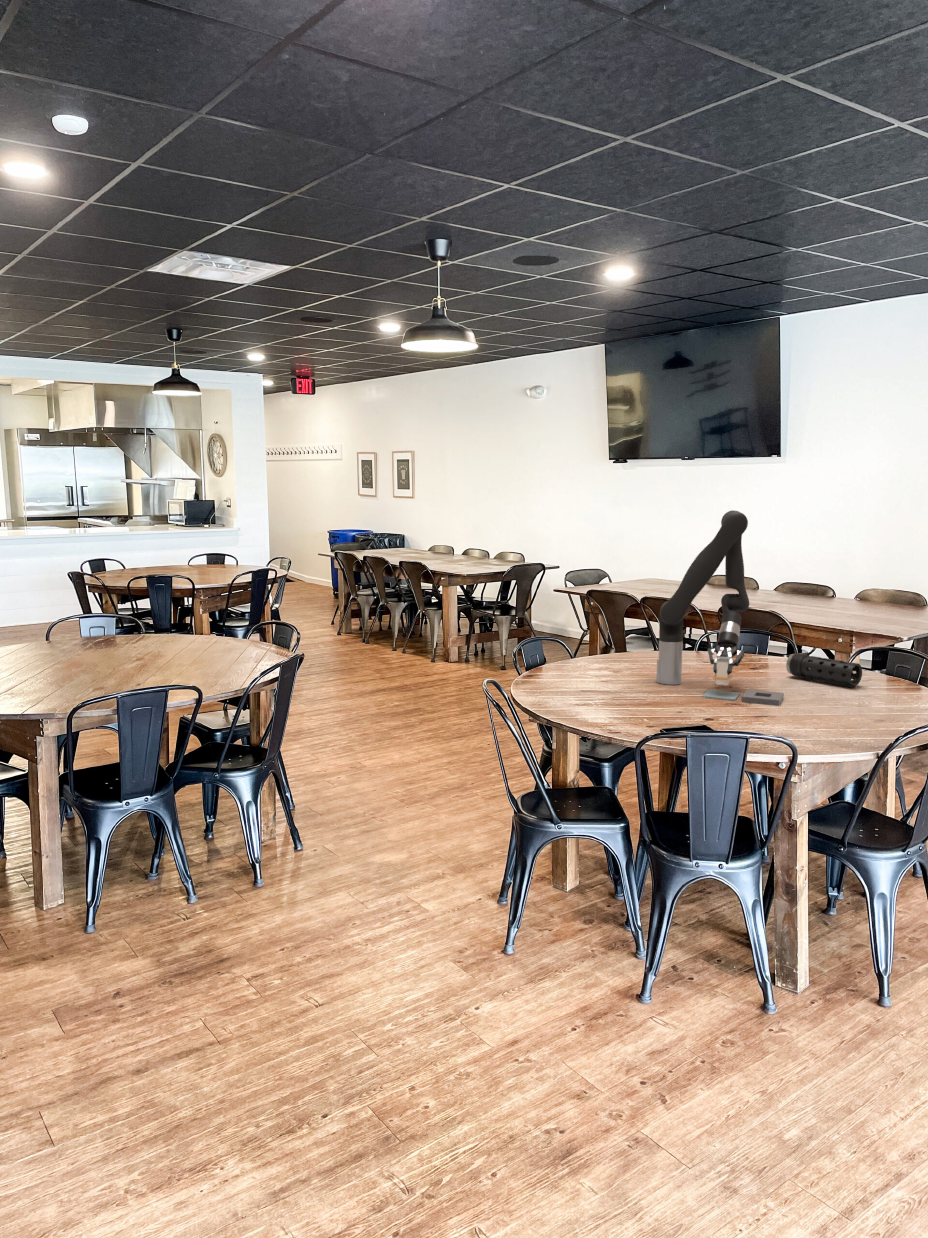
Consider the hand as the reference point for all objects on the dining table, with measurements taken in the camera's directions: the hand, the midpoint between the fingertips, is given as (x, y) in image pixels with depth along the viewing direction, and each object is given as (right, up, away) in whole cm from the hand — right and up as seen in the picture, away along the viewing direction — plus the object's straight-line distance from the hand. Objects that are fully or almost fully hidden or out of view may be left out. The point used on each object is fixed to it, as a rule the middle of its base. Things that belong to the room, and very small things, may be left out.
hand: (722, 673), depth 325 cm
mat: (+1, -9, +3) cm, 9 cm away
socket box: (+14, -10, -4) cm, 17 cm away
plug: (+1, -4, +2) cm, 5 cm away
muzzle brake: (+48, -6, +26) cm, 55 cm away
